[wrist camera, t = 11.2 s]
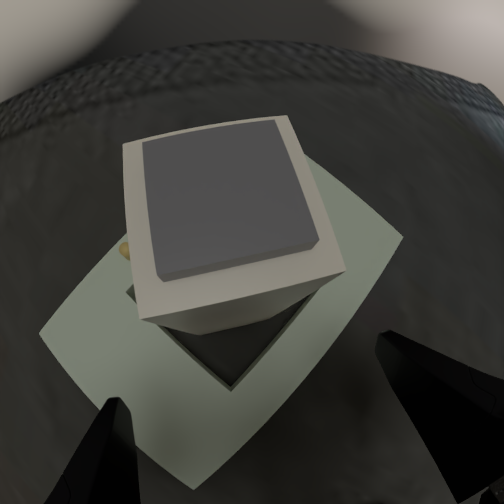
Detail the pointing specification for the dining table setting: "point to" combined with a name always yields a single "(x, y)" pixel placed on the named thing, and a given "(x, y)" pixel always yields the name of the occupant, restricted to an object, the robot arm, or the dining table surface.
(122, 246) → the board
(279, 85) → the dining table surface
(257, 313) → the grey tall block
